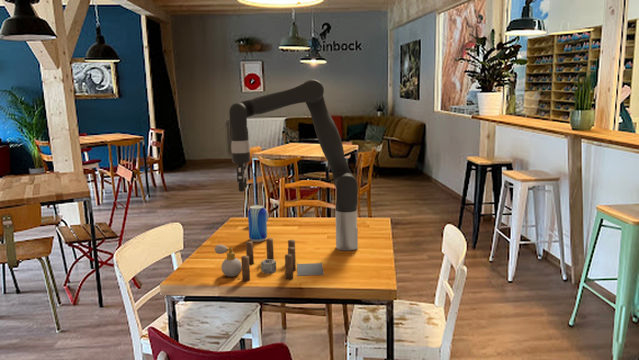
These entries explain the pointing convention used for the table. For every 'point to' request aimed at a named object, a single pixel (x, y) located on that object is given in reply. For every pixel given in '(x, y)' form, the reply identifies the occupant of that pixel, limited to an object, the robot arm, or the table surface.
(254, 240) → the beer can
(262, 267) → the nut
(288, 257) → the post field
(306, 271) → the felt mat
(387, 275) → the table surface
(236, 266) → the perfume bottle
